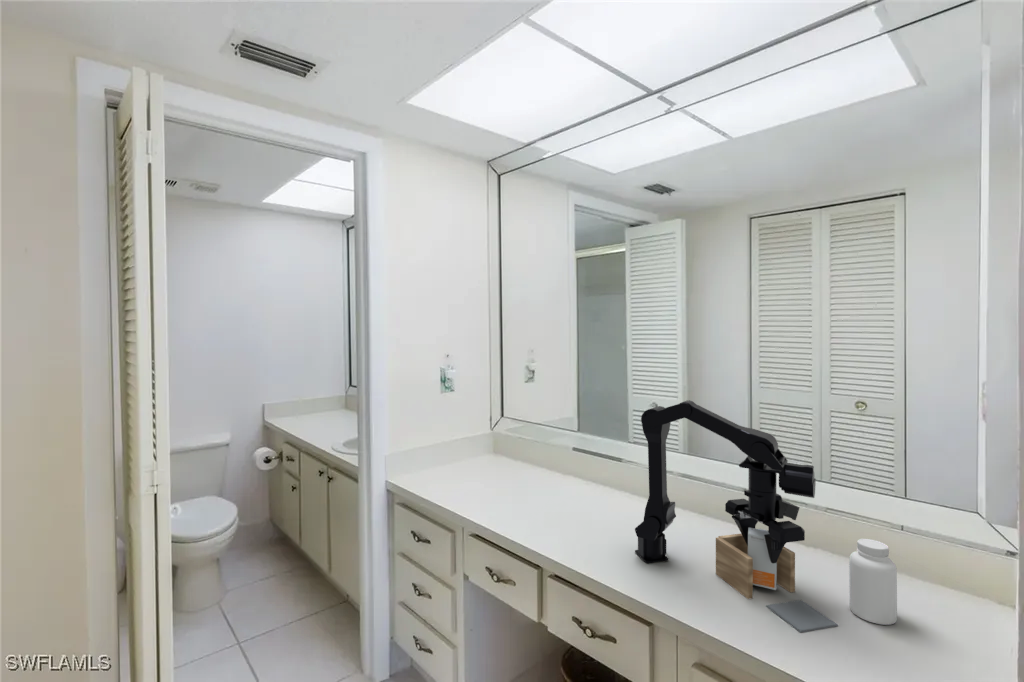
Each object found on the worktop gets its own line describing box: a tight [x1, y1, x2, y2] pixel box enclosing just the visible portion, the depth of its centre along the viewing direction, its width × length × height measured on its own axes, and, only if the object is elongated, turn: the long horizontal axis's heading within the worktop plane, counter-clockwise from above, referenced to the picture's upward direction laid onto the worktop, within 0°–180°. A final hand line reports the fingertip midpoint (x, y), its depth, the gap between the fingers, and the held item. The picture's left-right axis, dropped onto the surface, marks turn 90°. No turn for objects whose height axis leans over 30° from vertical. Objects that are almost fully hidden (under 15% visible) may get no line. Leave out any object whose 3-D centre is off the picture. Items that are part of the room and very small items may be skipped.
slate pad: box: [765, 599, 838, 633], centre depth 99 cm, size 9×9×1 cm
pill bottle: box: [848, 538, 898, 626], centre depth 99 cm, size 8×8×15 cm
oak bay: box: [715, 533, 796, 600], centre depth 112 cm, size 12×12×9 cm
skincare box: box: [748, 527, 777, 591], centre depth 109 cm, size 6×4×12 cm
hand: (761, 555), depth 109 cm, fingers closed on skincare box, 7 cm apart
